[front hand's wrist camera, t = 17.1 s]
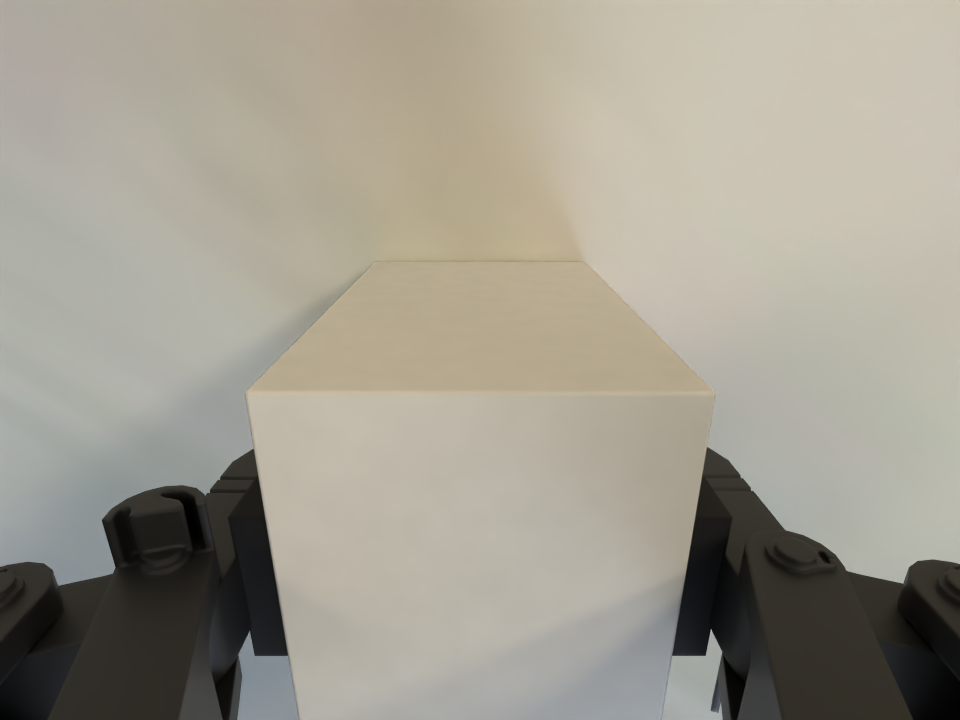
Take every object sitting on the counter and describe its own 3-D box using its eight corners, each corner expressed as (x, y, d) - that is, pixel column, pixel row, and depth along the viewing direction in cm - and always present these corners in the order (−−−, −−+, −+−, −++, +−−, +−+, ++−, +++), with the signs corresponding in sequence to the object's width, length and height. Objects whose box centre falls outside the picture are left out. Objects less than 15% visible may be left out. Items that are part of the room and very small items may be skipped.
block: (374, 260, 15) (242, 391, 7) (586, 261, 15) (718, 391, 7) (389, 482, 18) (306, 778, 9) (571, 482, 18) (653, 779, 9)
